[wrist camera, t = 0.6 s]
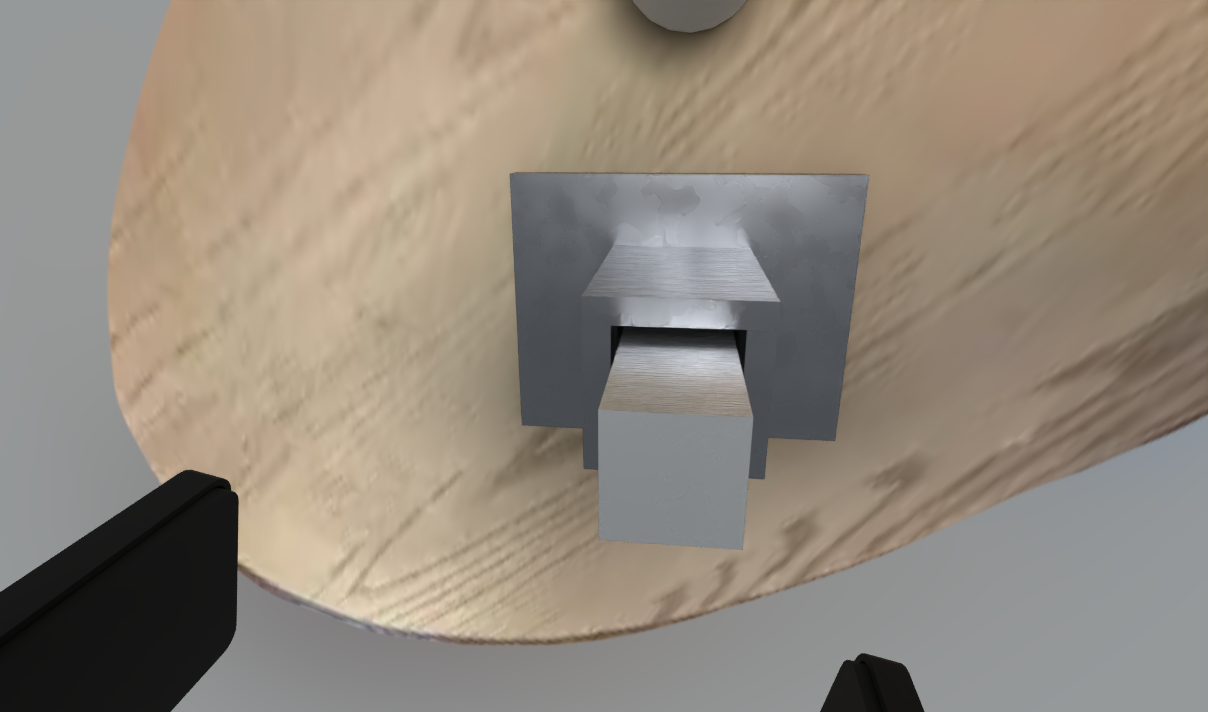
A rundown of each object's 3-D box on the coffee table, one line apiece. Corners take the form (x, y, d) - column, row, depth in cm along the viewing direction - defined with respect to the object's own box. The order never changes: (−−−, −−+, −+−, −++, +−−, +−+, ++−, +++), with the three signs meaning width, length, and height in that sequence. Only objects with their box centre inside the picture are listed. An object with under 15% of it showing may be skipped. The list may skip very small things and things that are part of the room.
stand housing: (861, 173, 36) (962, 197, 23) (830, 430, 42) (896, 567, 28) (516, 172, 39) (428, 192, 25) (527, 415, 44) (459, 536, 31)
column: (721, 275, 37) (757, 414, 19) (717, 354, 39) (745, 552, 20) (638, 273, 38) (594, 407, 19) (637, 351, 39) (595, 542, 21)
